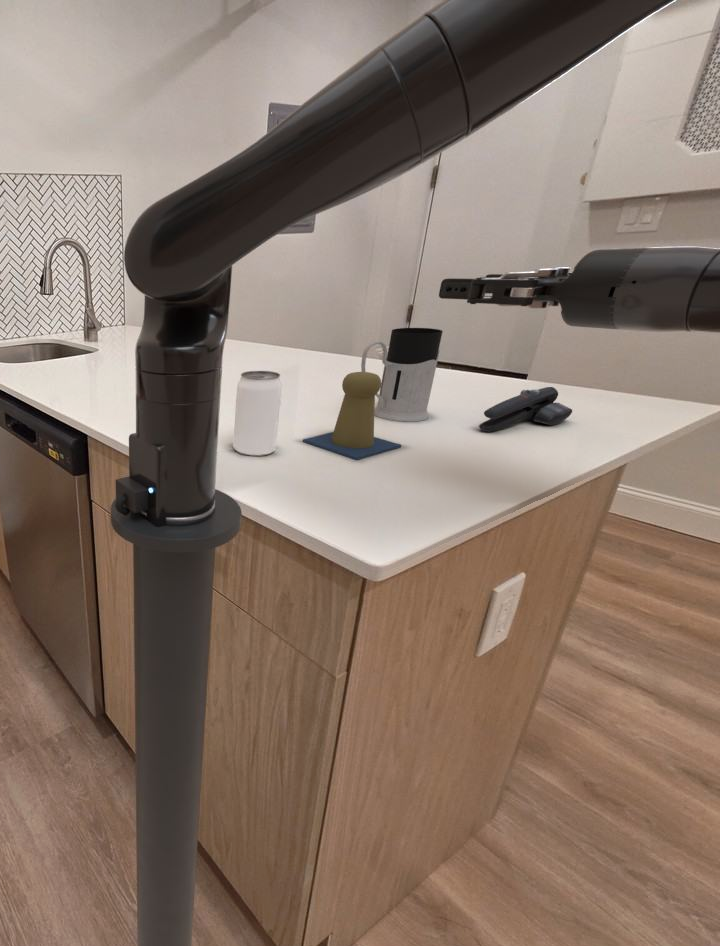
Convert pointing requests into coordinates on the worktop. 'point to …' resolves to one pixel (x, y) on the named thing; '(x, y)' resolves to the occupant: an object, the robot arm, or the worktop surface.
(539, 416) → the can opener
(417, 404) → the glass holder
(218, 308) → the robot arm
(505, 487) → the worktop surface
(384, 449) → the mat
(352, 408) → the cork
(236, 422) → the can
